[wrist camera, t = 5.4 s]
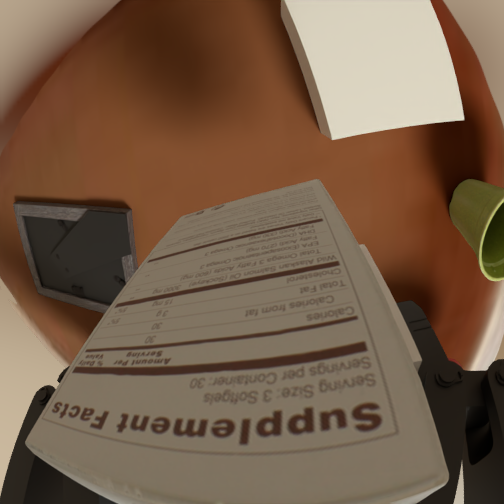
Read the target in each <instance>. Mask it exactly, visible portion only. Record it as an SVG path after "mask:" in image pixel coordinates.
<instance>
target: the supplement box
mask: <svg viewBox="0 0 504 504" xmlns="http://www.w3.org/2000/svg"><path fill="white" fill-rule="evenodd" d="M25 444H26V446H27V447H28V448H29V449H30V450H31V451H32V452H33V453H34V454H35V455H37V456H38V457H39V458H41V459H42V460H44V461H45V462H46V463H48V464H49V465H51V466H52V467H54V468H56V469H57V470H59V471H60V472H62V473H63V474H65V475H66V476H68V477H70V478H71V479H73V480H74V481H76V482H78V483H79V484H81V485H83V486H85V487H86V488H88V489H90V490H92V491H94V492H96V493H97V494H99V495H101V496H103V497H105V498H107V499H109V500H111V501H113V502H116V503H118V504H416V503H418V502H420V501H421V500H423V499H424V498H426V497H427V496H429V495H430V494H432V493H433V492H435V491H436V490H438V489H440V488H441V487H443V486H444V485H446V483H447V482H448V480H449V472H448V469H447V466H446V462H445V459H444V455H443V451H442V447H441V444H440V440H439V437H438V433H437V430H436V427H435V423H434V420H433V417H432V414H431V411H430V408H429V405H428V402H427V398H426V395H425V392H424V389H423V386H422V383H421V380H420V378H419V375H418V373H417V371H416V368H415V366H414V364H413V361H412V358H411V355H410V353H409V350H408V348H407V345H406V343H405V341H404V338H403V336H402V334H401V331H400V329H399V327H398V325H397V323H396V321H395V319H394V317H393V314H392V312H391V309H390V307H389V304H388V302H387V300H386V298H385V296H384V294H383V292H382V289H381V287H380V285H379V283H378V281H377V279H376V277H375V275H374V273H373V271H372V269H371V267H370V265H369V263H368V261H367V259H366V257H365V255H364V253H363V252H362V250H361V248H360V246H359V244H358V243H357V241H356V239H355V237H354V236H353V234H352V232H351V230H350V228H349V227H348V225H347V223H346V222H345V220H344V218H343V216H342V215H341V213H340V211H339V210H338V208H337V206H336V205H335V203H334V201H333V200H332V198H331V197H330V195H329V194H328V192H327V191H326V189H325V188H324V186H323V184H322V183H321V181H320V180H319V179H315V180H312V181H308V182H304V183H300V184H296V185H292V186H288V187H284V188H281V189H276V190H273V191H269V192H265V193H261V194H258V195H253V196H250V197H246V198H243V199H239V200H235V201H232V202H228V203H225V204H221V205H218V206H214V207H211V208H208V209H204V210H202V211H198V212H194V213H191V214H188V215H185V216H182V217H180V218H179V220H178V221H177V222H176V223H175V224H174V225H173V227H172V228H171V229H170V230H169V231H168V232H167V234H166V235H165V236H164V237H163V238H162V239H161V240H160V241H159V243H158V244H157V245H156V246H155V248H154V249H153V250H152V251H151V253H150V254H149V255H148V257H147V258H146V259H145V260H144V262H143V263H142V264H141V265H140V267H139V268H138V269H137V271H136V272H135V273H134V275H133V276H132V277H131V278H130V280H129V281H128V282H127V284H126V285H125V286H124V288H123V289H122V291H121V292H120V293H119V295H118V296H117V297H116V299H115V300H114V302H113V303H112V304H111V306H110V307H109V308H108V310H107V311H106V313H105V314H104V316H103V317H102V319H101V320H100V322H99V323H98V324H97V326H96V327H95V329H94V330H93V332H92V333H91V335H90V336H89V338H88V339H87V341H86V342H85V344H84V345H83V347H82V348H81V350H80V352H79V353H78V355H77V356H76V358H75V359H74V361H73V362H72V364H71V366H70V367H69V369H68V370H67V372H66V374H65V375H64V377H63V379H62V380H61V382H60V384H59V385H58V387H57V389H56V390H55V392H54V393H53V395H52V397H51V398H50V400H49V402H48V404H47V405H46V407H45V409H44V410H43V412H42V414H41V415H40V417H39V418H38V420H37V422H36V424H35V425H34V427H33V429H32V430H31V432H30V434H29V435H28V437H27V439H26V441H25Z"/></svg>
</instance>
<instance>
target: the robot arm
mask: <svg viewBox="0 0 504 504" xmlns="http://www.w3.org/2000/svg"><path fill="white" fill-rule="evenodd" d="M359 246H360V248H361V250H362V252H363V253H364V255H365V257H366V259H367V261H368V263H369V265H370V267H371V269H372V271H373V273H374V275H375V277H376V279H377V281H378V283H379V285H380V287H381V289H382V292H383V294H384V296H385V298H386V300H387V302H388V304H389V307H390V309H391V312H392V314H393V317H394V319H395V321H396V323H397V325H398V327H399V329H400V331H401V334H402V336H403V338H404V341H405V343H406V345H407V348H408V350H409V353H410V355H411V358H412V361H413V364H414V366H415V368H416V371H417V373H418V375H419V378H420V380H421V383H422V386H423V389H424V392H425V395H426V398H427V402H428V405H429V408H430V411H431V414H432V417H433V420H434V423H435V427H436V430H437V433H438V437H439V440H440V444H441V447H442V451H443V455H444V459H445V462H446V466H447V469H448V472H449V480H448V482H447V483H446V485H444V486H443V487H441V488H440V489H438V490H436V491H435V492H433V493H432V494H430V495H429V496H427V497H426V498H424V499H423V500H421V501H420V502H418V503H416V504H453V503H454V499H455V495H456V490H457V485H458V480H459V475H460V468H461V462H462V464H463V479H464V504H504V359H499V360H497V361H494V362H493V363H492V364H491V365H490V366H489V368H488V370H487V371H465V370H463V369H462V368H461V366H460V365H458V364H457V363H455V362H453V361H449V359H448V358H447V356H446V354H445V352H444V350H443V348H442V346H441V344H440V342H439V340H438V338H437V336H436V334H435V332H434V330H433V329H432V328H431V325H430V323H429V321H428V320H427V318H426V316H425V314H424V312H423V310H422V309H421V308H420V307H419V306H418V305H417V304H415V303H414V302H413V301H412V300H410V301H405V302H400V303H396V302H395V300H394V298H393V296H392V294H391V292H390V290H389V288H388V286H387V285H386V283H385V281H384V279H383V277H382V275H381V273H380V271H379V270H378V268H377V266H376V264H375V262H374V261H373V259H372V257H371V255H370V253H369V252H368V250H367V248H366V246H365V245H364V244H362V245H359ZM69 367H70V366H69ZM69 367H67V368H66V369H65V370H63V372H62V373H61V374H60V375H59V378H58V380H57V381H58V382H59V383H60V382H61V380H62V379H63V377H64V375H65V374H66V372H67V370H68V369H69ZM55 390H56V389H55V388H54V387H53V386H50V385H47V386H44V387H42V388H40V389H39V391H37V392H36V394H35V396H34V398H33V400H32V403H31V405H30V407H29V409H28V412H27V414H26V417H25V419H24V422H23V424H22V427H21V430H20V432H19V435H18V438H17V440H16V443H15V446H14V449H13V452H12V456H11V459H10V462H9V465H8V469H7V473H6V476H5V480H4V484H3V488H2V492H1V496H0V504H118V503H116V502H113V501H111V500H109V499H107V498H105V497H103V496H101V495H99V494H97V493H96V492H94V491H92V490H90V489H88V488H86V487H85V486H83V485H81V484H79V483H78V482H76V481H74V480H73V479H71V478H70V477H68V476H66V475H65V474H63V473H62V472H60V471H59V470H57V469H56V468H54V467H52V466H51V465H49V464H48V463H46V462H45V461H44V460H42V459H41V458H39V457H38V456H37V455H35V454H34V453H33V452H32V451H31V450H30V449H29V448H28V447H27V446H26V444H25V441H26V439H27V437H28V435H29V434H30V432H31V430H32V429H33V427H34V425H35V424H36V422H37V420H38V418H39V417H40V415H41V414H42V412H43V410H44V409H45V407H46V405H47V404H48V402H49V400H50V398H51V397H52V395H53V393H54V392H55Z"/></svg>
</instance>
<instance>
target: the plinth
mask: <svg viewBox="0 0 504 504" xmlns="http://www.w3.org/2000/svg"><path fill="white" fill-rule="evenodd" d="M281 17H282V20H283V22H284V25H285V27H286V30H287V32H288V35H289V37H290V40H291V43H292V45H293V48H294V51H295V53H296V56H297V59H298V62H299V64H300V67H301V70H302V73H303V76H304V79H305V82H306V85H307V88H308V91H309V94H310V98H311V101H312V104H313V108H314V111H315V114H316V118H317V121H318V125H319V128H320V132H321V133H322V134H323V135H325V136H327V137H328V138H330V139H332V140H335V139H339V138H344V137H349V136H354V135H359V134H365V133H370V132H376V131H382V130H388V129H394V128H400V127H407V126H414V125H422V124H430V123H439V122H449V121H461V120H464V114H463V108H462V103H461V98H460V93H459V88H458V84H457V79H456V75H455V71H454V68H453V64H452V60H451V57H450V54H449V50H448V47H447V44H446V41H445V38H444V35H443V32H442V29H441V27H440V24H439V21H438V19H437V16H436V14H435V11H434V9H433V7H432V4H431V2H430V0H281Z"/></svg>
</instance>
